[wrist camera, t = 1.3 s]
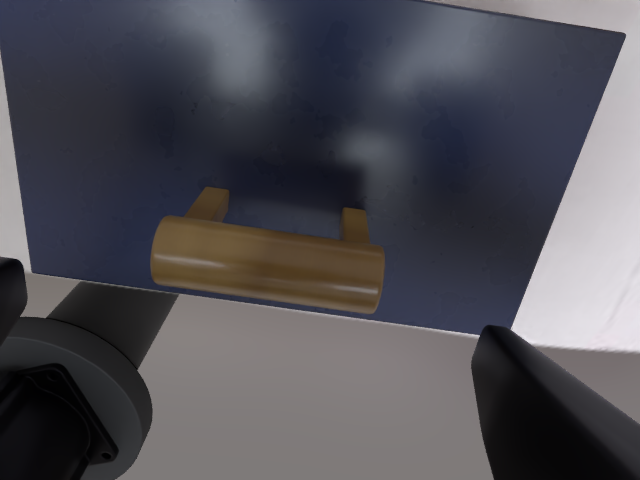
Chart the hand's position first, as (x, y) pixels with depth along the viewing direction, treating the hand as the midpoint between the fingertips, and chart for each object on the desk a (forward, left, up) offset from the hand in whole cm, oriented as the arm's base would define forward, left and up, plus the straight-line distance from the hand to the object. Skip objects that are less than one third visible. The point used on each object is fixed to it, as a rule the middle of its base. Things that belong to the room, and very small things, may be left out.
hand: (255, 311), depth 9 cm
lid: (+1, -1, -6) cm, 6 cm away
